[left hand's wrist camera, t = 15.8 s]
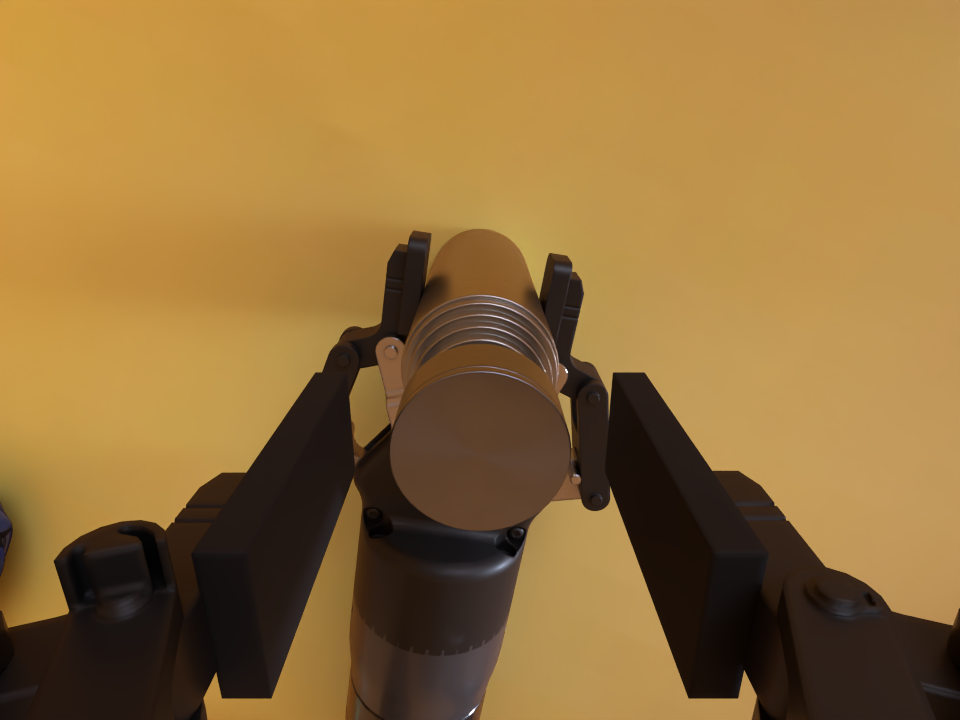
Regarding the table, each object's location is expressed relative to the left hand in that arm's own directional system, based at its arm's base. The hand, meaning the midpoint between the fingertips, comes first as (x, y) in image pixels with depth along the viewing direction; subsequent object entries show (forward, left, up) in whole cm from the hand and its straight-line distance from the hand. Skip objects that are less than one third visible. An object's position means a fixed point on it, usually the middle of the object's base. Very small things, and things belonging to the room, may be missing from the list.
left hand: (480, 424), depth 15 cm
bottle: (0, 0, -16) cm, 16 cm away
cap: (0, 0, +1) cm, 1 cm away
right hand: (-2, -2, -10) cm, 10 cm away
